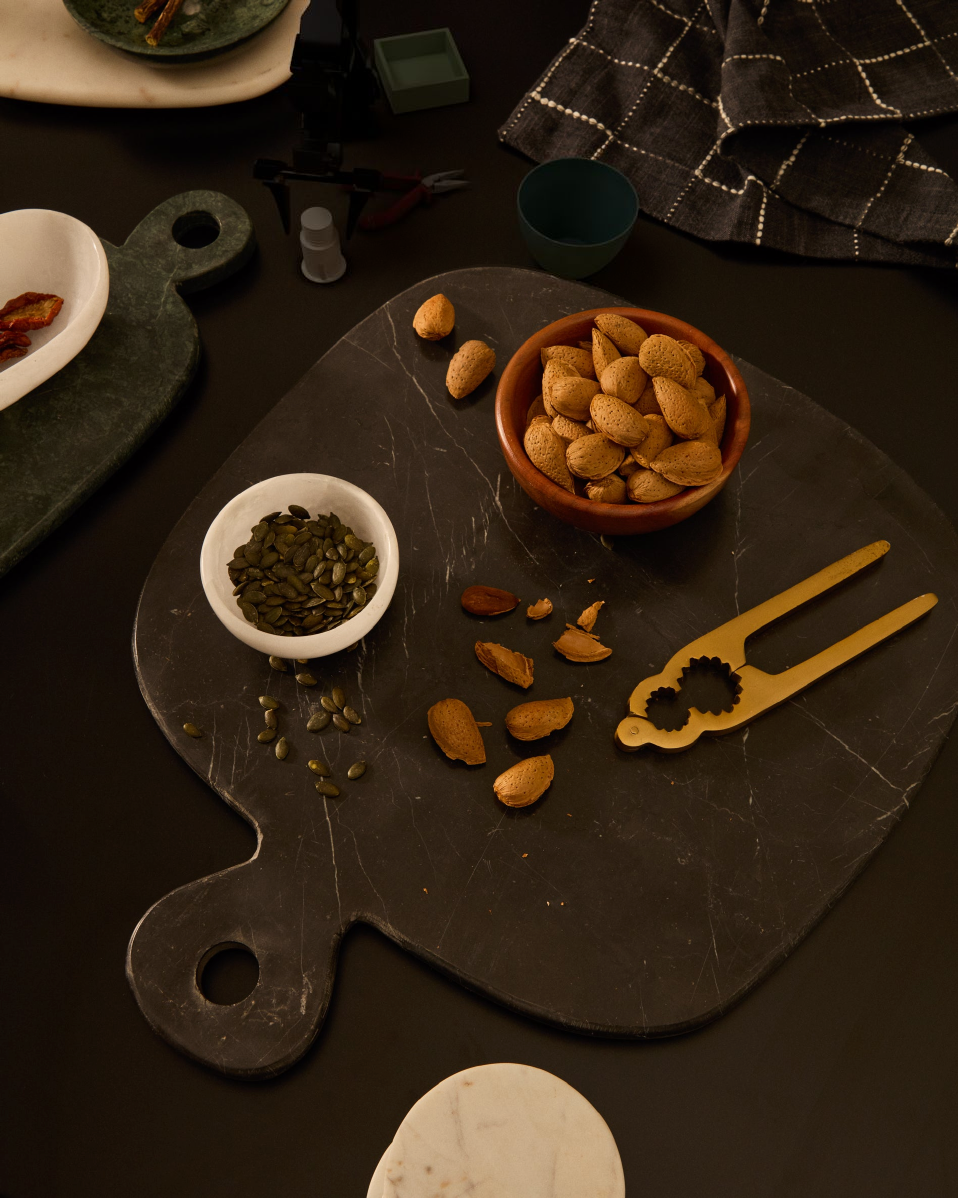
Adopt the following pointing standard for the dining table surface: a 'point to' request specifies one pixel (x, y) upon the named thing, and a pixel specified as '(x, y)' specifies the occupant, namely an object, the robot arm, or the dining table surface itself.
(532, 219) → the dark teal bowl
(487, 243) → the dining table surface
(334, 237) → the downlight
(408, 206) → the pliers
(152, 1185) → the dining table surface
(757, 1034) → the dining table surface
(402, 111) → the bin
